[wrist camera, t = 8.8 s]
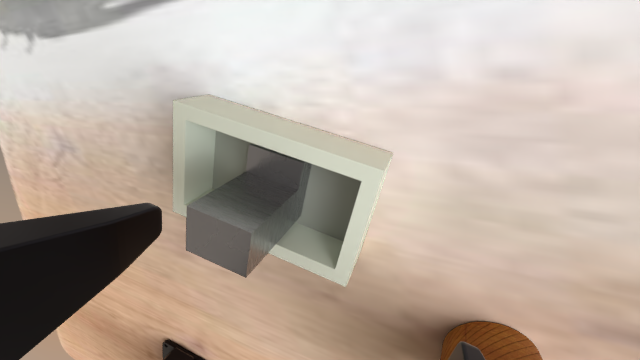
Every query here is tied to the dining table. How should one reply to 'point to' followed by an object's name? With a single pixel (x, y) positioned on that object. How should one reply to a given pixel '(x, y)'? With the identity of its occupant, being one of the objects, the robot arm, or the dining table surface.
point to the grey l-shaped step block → (248, 211)
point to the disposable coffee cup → (491, 342)
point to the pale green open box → (296, 141)
